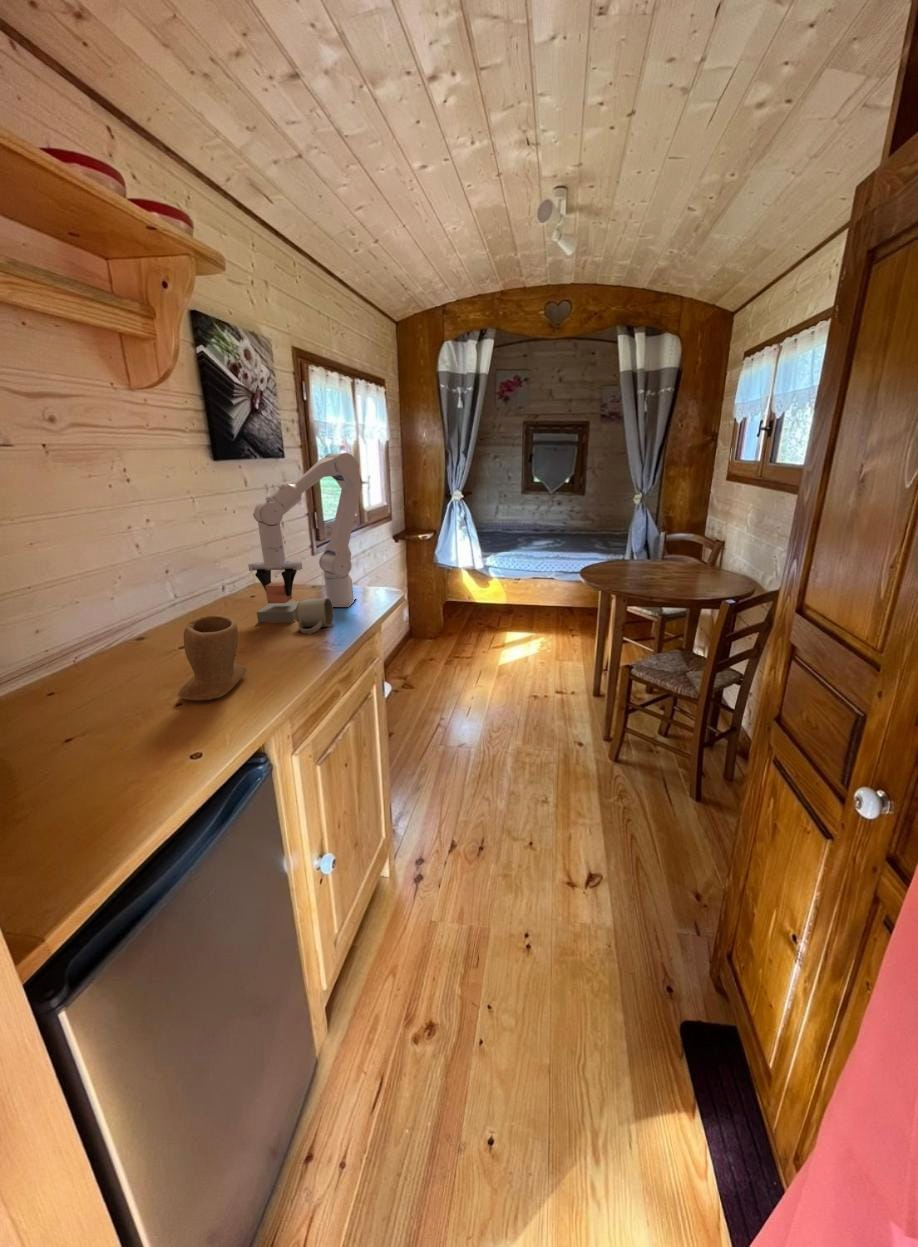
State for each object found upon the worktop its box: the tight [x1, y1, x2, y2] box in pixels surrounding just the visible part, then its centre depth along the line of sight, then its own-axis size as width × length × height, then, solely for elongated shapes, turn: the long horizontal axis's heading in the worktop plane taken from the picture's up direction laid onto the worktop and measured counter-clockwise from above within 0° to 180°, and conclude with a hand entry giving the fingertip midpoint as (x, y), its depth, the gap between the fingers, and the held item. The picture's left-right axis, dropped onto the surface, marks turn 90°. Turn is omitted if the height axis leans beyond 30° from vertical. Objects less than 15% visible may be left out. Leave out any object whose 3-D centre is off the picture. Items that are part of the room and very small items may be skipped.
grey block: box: [256, 601, 300, 623], centre depth 154 cm, size 10×10×4 cm
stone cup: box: [177, 614, 248, 702], centre depth 107 cm, size 15×12×15 cm
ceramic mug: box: [296, 597, 334, 634], centre depth 143 cm, size 11×8×8 cm
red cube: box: [265, 580, 293, 604], centre depth 152 cm, size 5×5×5 cm
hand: (279, 595), depth 153 cm, fingers closed on red cube, 5 cm apart
